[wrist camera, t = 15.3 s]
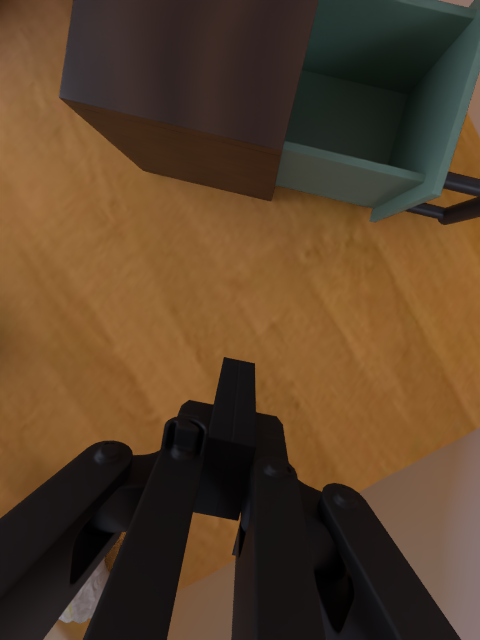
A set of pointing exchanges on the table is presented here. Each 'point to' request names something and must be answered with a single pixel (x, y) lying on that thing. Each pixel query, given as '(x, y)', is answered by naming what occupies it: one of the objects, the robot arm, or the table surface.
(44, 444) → the table surface
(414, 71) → the green drawer
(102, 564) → the fossil replica
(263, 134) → the box
